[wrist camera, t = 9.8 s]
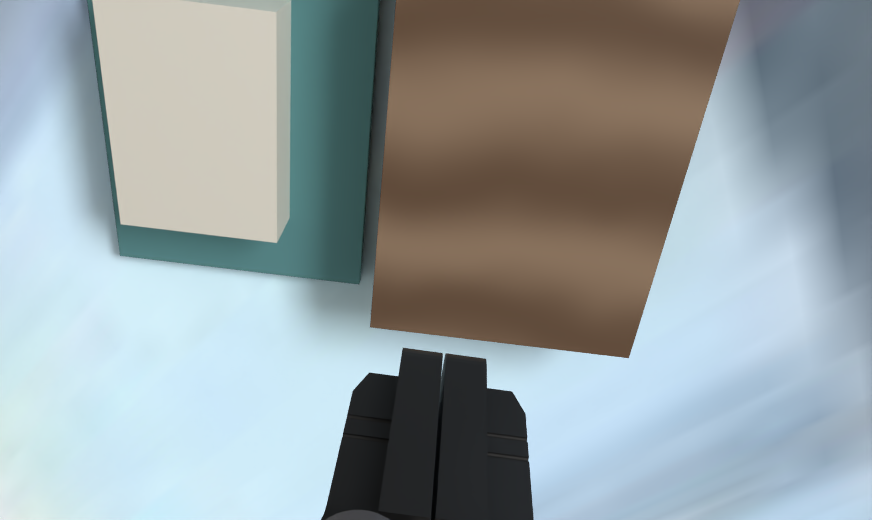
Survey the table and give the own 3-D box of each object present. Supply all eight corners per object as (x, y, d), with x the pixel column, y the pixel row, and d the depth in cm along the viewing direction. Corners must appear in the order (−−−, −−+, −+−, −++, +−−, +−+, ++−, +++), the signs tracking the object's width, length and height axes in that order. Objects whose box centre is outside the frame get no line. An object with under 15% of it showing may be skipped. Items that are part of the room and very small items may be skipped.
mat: (80, -102, 28) (74, -101, 28) (383, -64, 28) (382, -62, 28) (124, 250, 36) (120, 255, 36) (360, 279, 36) (359, 284, 36)
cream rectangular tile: (276, 12, 27) (291, -1, 29) (90, -11, 27) (119, -22, 29) (277, 243, 32) (289, 217, 34) (120, 224, 32) (143, 200, 34)
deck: (408, -60, 28) (399, -48, 25) (708, -22, 28) (741, -5, 25) (380, 281, 36) (370, 327, 33) (614, 309, 36) (628, 357, 33)
